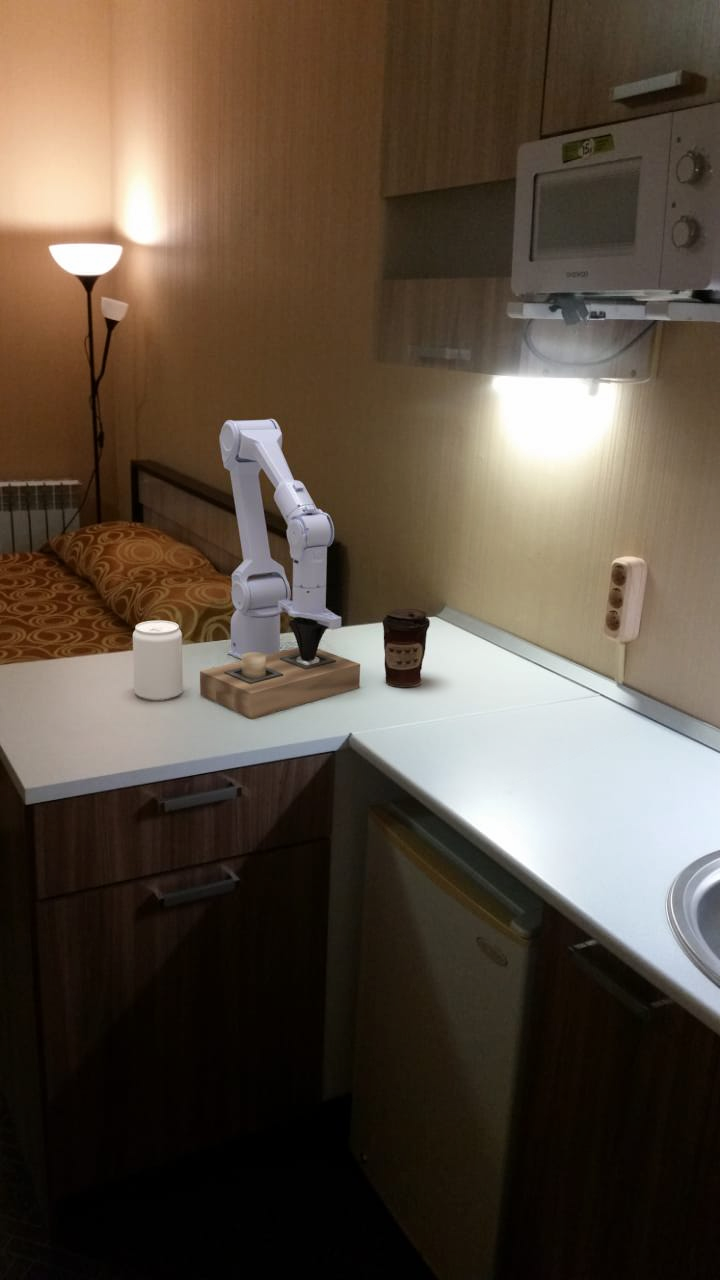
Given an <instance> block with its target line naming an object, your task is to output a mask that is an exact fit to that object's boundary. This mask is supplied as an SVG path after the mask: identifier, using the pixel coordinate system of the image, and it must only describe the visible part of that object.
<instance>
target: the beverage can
mask: <svg viewBox="0 0 720 1280" xmlns="http://www.w3.org/2000/svg"><path fill="white" fill-rule="evenodd" d="M134 628H135V630H134V631H133V633H132V653H133V655H132V656H133V658H132V661H133V662H132V663H133V687H134V688H133V689H134V694H135V695H137V696H139V697H140V698H142V697H143V699H145V700H149V701H165V699H167V700H170V699H169V698H171V699H173V698H175V697H177V696H179V695H180V694H182V692H183V691H184V690H183V689H184V687H183V686H184V682H183V681H184V680H183V679H184V678H183V677H184V674H183V633H182V631H181V629H180V627H179V624H178V623H176V622H174V621H170V620H147V621H142V622H140V623H137V624H136V625H135V627H134ZM172 697H173V698H172Z"/></svg>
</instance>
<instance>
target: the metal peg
mask: <svg viewBox="0 0 720 1280" xmlns="http://www.w3.org/2000/svg"><path fill="white" fill-rule="evenodd" d="M297 662H299V663H301V664H304V665H310V664H314V663H318V662H319V658H318V657H315V659H313V660H309V661H304V660H302V659H301V656H300V657H298V658H297Z"/></svg>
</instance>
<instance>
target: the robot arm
mask: <svg viewBox="0 0 720 1280" xmlns="http://www.w3.org/2000/svg"><path fill="white" fill-rule="evenodd" d="M218 438H219V447H220V453H221V459H222V462H223V468H224V469H226V470H227V471H229V474H230V480H231V486H232V492H233V500H234V505H235V506H234V507H235V515H236V519H237V526H238V527H237V528H238V533H239V539H240V546H241V552H242V553H241V554H242V559H243V561H242V562H241V563H240V565H238V566H237V567H236V569H235V570H234V571H233V572H232V574H231V595H230V596H231V601H232V604H233V607H234V608H235V609H236V610H234V613H232V616H231V619H230V650H227V651H226V654H228V655H229V656H232V657H235V658H237V659H240V660H242V655H243V654H245V653H249V652H259V653H263V654H265V655H268V654H272V653H276V652H280V651H281V614H282V613H286V614H288V616H290V617H292V618H293V619H291V620H289V621H288V626H289V628H290V630H291V631H292V633H293V634H294V635H293V636H294V638H295V641H296V644H297V647H298V648H299V652H300V656H301V659H302V660H304V661H309V660H313V659H315V656H316V652H317V649H319V645H320V642H321V640H322V638H323V635H324V634H325V632H326V630H328V629H329V630H332V631H334V630H338V629H341V628H342V616H340V615H337V614H335V613H334V612H332V611H331V610H329V609H328V608H327V607H326V603H327V602H326V601H327V599H326V598H327V597H326V596H327V595H326V594H327V565H328V564H327V563H328V561H327V560H328V559H327V558H328V555H327V554H328V547H330V546H331V545H332V544H333V541H334V539H335V528H334V527H335V526H334V523H333V521H332V518H331V516H330V514H328V513H327V512H323V510H322V509H320V508H317V506H316V505H315V503H314V501H313V499H312V497H311V495H310V493H309V492H308V490H307V488H306V486H305V485H304V483H303V482H302V481H300V480H298V479H297V480H296V479H294V476H293V475H292V472H291V470H290V468H289V464H288V463H287V460H286V458H285V456H284V454H283V451H282V447H283V446H282V445H283V433H282V431H281V427H280V425H279V424H278V422H277V420H275V419H273V418H267V419H254V420H252V419H251V420H232V419H228V420H225V422H224V423H223V425H222V427H221V431H220V434H219V437H218ZM261 470H263V471H264V473H265V475H266V476H267V478H268V480H269V481H270V483H271V484H272V485H273V487H274V488H275V491H274V494H273V500H274V502H275V503H276V506H277V507H278V509H279V511H280V514H281V515H282V517H283V518H284V521H285V523H286V525H287V529H286V538H287V541H288V544H289V555H290V558H291V559H292V591H291V587H290V582H289V581H288V578H287V576H286V572H285V568H284V566H283V565H281V564H280V563H279V562H277V561H276V560H274V559H273V558H272V557H271V552H270V544H269V537H268V532H267V530H268V529H267V523H266V519H265V518H266V517H265V513H264V512H265V511H264V505H263V499H262V492H261V484H260V478H259V474H260V471H261ZM260 575H261V576H260ZM262 575H265V576H262ZM253 576H258V577H253ZM251 577H252V578H251ZM291 592H292V595H291ZM291 596H292V600H290V599H291Z"/></svg>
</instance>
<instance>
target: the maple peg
mask: <svg viewBox="0 0 720 1280" xmlns="http://www.w3.org/2000/svg"><path fill="white" fill-rule="evenodd" d="M241 661H242V676H243V677H246V678H248V679H251V680H252V679H256V678H260V677H264V676H266V655H265V654H263V653H259V652H249V653H245V654H243V655H242V659H241Z"/></svg>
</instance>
